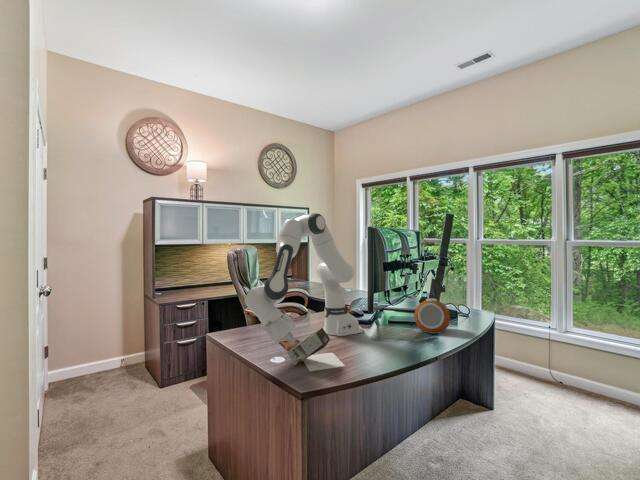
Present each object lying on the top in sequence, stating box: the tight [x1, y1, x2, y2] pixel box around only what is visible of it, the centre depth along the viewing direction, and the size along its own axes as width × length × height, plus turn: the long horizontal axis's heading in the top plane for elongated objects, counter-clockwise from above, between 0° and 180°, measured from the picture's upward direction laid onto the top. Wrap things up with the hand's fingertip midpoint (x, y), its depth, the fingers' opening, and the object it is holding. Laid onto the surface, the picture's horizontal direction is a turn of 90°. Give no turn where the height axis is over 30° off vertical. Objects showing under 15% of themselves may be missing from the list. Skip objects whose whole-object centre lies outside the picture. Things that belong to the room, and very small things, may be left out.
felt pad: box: [302, 352, 346, 372], centre depth 140 cm, size 15×16×1 cm
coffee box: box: [286, 327, 331, 366], centre depth 139 cm, size 9×6×16 cm
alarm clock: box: [413, 297, 451, 334], centre depth 184 cm, size 19×18×17 cm
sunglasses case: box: [278, 336, 301, 352], centre depth 163 cm, size 18×7×7 cm, turn 27°
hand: (294, 342), depth 141 cm, fingers closed
